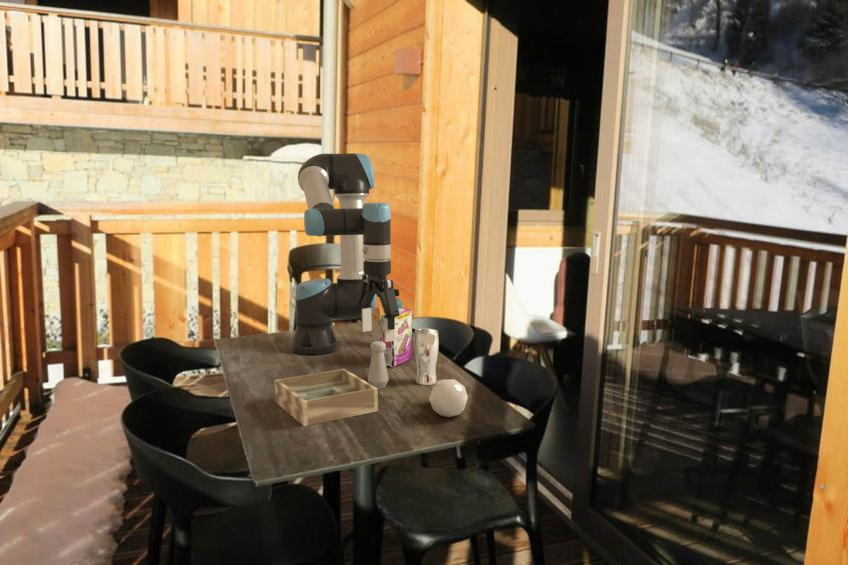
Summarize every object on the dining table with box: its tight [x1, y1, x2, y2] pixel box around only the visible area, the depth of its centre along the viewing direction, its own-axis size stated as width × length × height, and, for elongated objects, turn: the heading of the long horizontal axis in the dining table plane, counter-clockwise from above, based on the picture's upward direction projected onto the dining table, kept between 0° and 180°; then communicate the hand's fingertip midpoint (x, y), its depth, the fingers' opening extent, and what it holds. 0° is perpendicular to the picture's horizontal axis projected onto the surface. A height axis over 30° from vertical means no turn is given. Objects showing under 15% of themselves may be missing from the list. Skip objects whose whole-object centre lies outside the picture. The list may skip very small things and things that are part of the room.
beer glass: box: [413, 327, 440, 386], centre depth 203 cm, size 7×7×15 cm
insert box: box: [274, 368, 379, 427], centre depth 183 cm, size 20×20×6 cm
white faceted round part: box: [428, 378, 469, 418], centre depth 180 cm, size 9×10×15 cm
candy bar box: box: [380, 308, 413, 369], centre depth 221 cm, size 11×5×16 cm, turn 150°
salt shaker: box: [367, 340, 390, 390], centre depth 198 cm, size 6×6×13 cm
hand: (378, 336), depth 197 cm, fingers open, 13 cm apart
